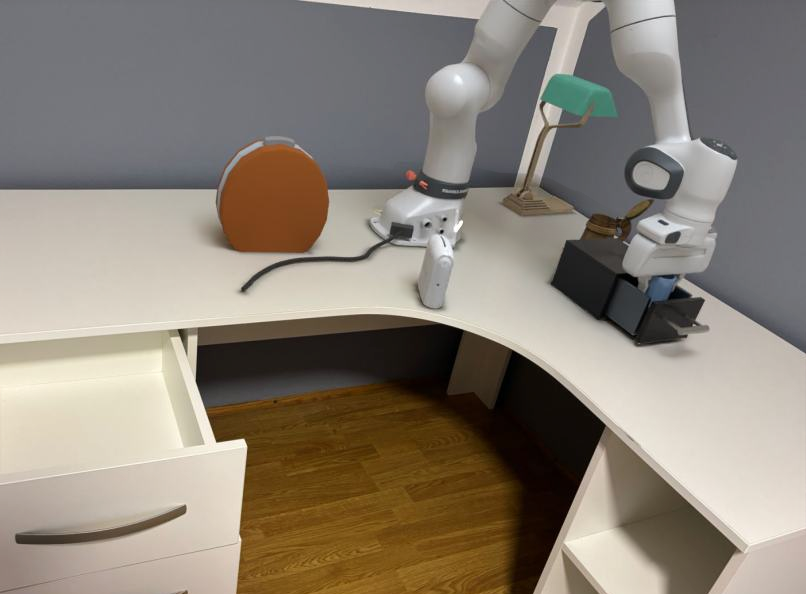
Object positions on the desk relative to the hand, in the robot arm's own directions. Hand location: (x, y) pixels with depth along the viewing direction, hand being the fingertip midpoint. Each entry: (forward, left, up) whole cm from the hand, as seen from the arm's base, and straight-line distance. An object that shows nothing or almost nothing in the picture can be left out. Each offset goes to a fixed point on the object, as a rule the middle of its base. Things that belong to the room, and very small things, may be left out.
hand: (654, 292), depth 139 cm
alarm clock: (-65, +45, -8) cm, 80 cm away
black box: (0, +12, -8) cm, 15 cm away
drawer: (0, -2, -7) cm, 8 cm away
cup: (0, 0, -2) cm, 2 cm away
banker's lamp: (+22, +62, -8) cm, 66 cm away
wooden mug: (+14, +28, -8) cm, 32 cm away
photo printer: (-40, +18, -8) cm, 45 cm away
